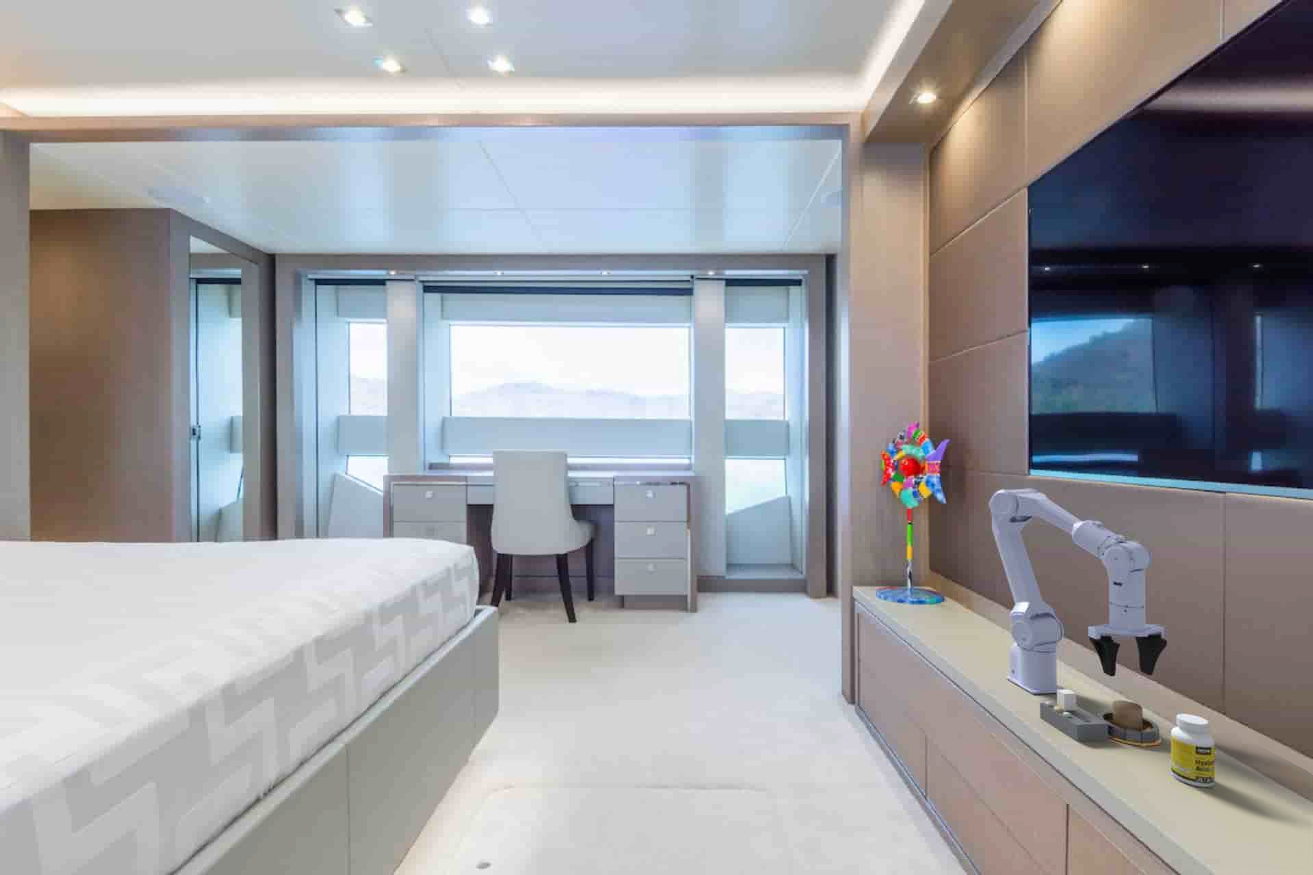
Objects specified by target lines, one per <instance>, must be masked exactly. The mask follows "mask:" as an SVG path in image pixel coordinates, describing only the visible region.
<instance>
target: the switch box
mask: <svg viewBox="0 0 1313 875" xmlns="http://www.w3.org/2000/svg"><path fill="white" fill-rule="evenodd" d="M1039 713H1040V714H1039V716H1040V717H1039V718H1040V719H1041V720H1043V721H1045V722H1046V723H1047V724H1050V725H1051V726H1053V727H1054V728H1055V729H1057V730H1058V731H1060V732H1061V733H1062V734H1065V735H1066V736H1068V737H1070V738H1071V739H1072V740H1074V741H1076V742H1094V741H1108V740H1109V738H1108V723H1106V722H1104V721H1103V720H1101V719H1099V718H1097V715H1094V714H1092V713H1090V712H1089V711H1086V710H1085V709H1083V708H1082V707H1080V706H1077V705H1076V710H1068V711H1064V710H1063V709H1062V708H1061V707H1057V701H1048V700H1045V702H1040V703H1039Z"/></svg>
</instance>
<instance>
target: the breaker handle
mask: <svg viewBox="0 0 1313 875" xmlns="http://www.w3.org/2000/svg"><path fill="white" fill-rule="evenodd" d="M1065 689H1066V688H1065ZM1056 702H1057V707H1061V708H1062V709H1063V710H1064V711H1068V710H1076V706H1077V693H1076V692H1074V691H1073V690H1071V689H1066V690H1057V693H1056Z"/></svg>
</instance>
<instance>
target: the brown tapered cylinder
mask: <svg viewBox="0 0 1313 875" xmlns="http://www.w3.org/2000/svg"><path fill="white" fill-rule="evenodd" d="M1112 711H1113V725H1116V726H1119V727H1122V728H1126V729H1132V730H1143V717H1144V716H1143V706H1141V704H1138V703H1136V702H1132V701H1128V700H1123V699H1122V700H1121V699H1119V700H1117V699H1116V700H1113V701H1112Z"/></svg>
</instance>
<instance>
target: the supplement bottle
mask: <svg viewBox="0 0 1313 875" xmlns="http://www.w3.org/2000/svg"><path fill="white" fill-rule="evenodd" d="M1176 725H1177V726H1175V727H1173V728H1172V729H1171V733H1170V734H1171V735H1170V752H1171V753H1170V772H1171V775H1172V776H1173V777H1174V778H1176V779H1177V780H1179V781H1181V782H1183V783H1185V784H1188V785H1191V786H1195V787H1199V788H1210V787H1212V786H1214V784H1215V782H1216V781H1215V778H1216V776H1215V774H1216V772H1215V771H1216V770H1215V763H1216V762H1215V760H1216V758H1215V756H1216V755H1215V754H1216V753H1215V752H1216V751H1215V750H1216V747H1215V739H1214V738H1213V736H1212V735H1210V734H1209V733H1208V732H1210V731H1209V730H1210V727H1209V726H1210V722H1209V721H1208V720H1207V719H1205V718H1203V717H1201V716H1198V715H1194V714H1188V713H1179V714H1177V715H1176Z"/></svg>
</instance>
